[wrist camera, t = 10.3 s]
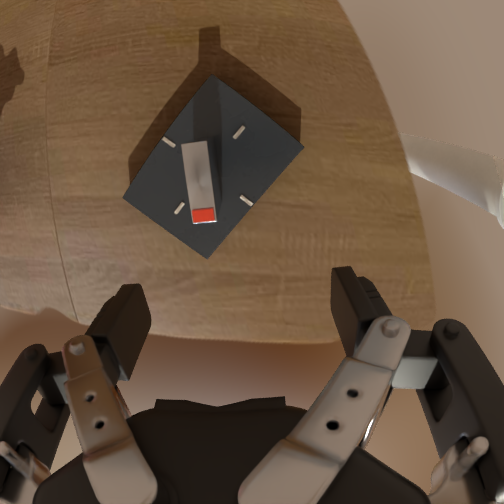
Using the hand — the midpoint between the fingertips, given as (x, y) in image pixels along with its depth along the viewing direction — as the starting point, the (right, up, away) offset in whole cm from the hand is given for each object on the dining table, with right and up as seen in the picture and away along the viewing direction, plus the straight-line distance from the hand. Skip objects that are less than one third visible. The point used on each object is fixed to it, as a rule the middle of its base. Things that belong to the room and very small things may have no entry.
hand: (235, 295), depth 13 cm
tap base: (-4, +10, +18) cm, 21 cm away
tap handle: (-3, +9, +15) cm, 18 cm away
